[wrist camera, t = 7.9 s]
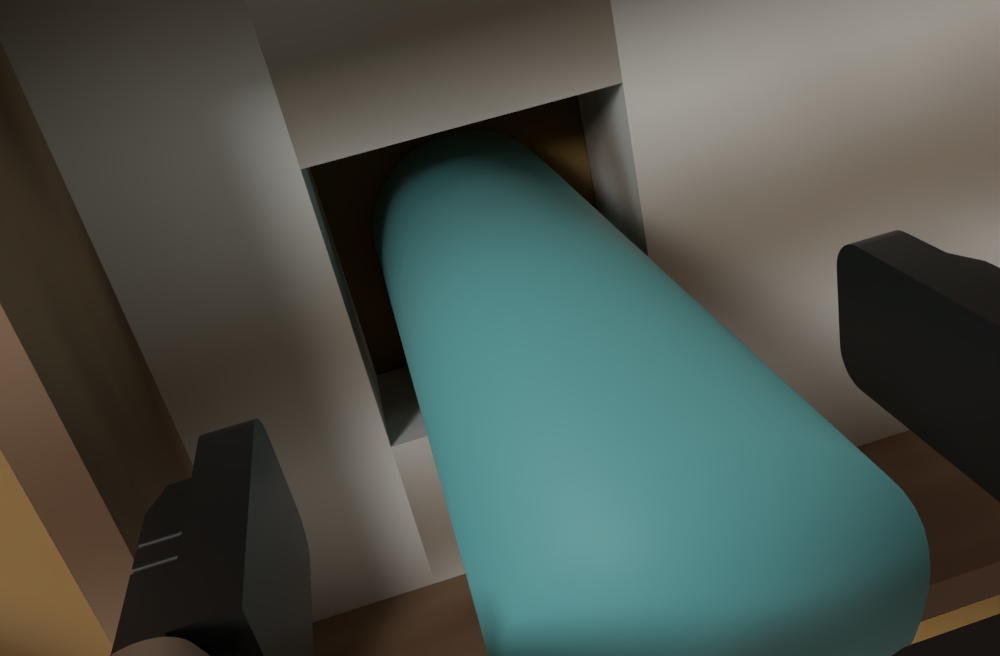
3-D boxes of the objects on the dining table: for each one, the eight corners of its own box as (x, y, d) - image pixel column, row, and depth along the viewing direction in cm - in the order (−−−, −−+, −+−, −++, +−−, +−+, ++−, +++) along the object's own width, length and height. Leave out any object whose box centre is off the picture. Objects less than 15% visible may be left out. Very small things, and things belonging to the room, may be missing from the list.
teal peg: (349, 159, 17) (449, 535, 7) (542, 106, 18) (932, 380, 7) (402, 336, 19) (548, 857, 8) (577, 284, 19) (929, 718, 9)
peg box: (-35, -54, 15) (-277, -38, 8) (1049, -306, 17) (1509, -447, 10) (250, 580, 21) (234, 859, 15) (1012, 340, 23) (1285, 494, 17)
